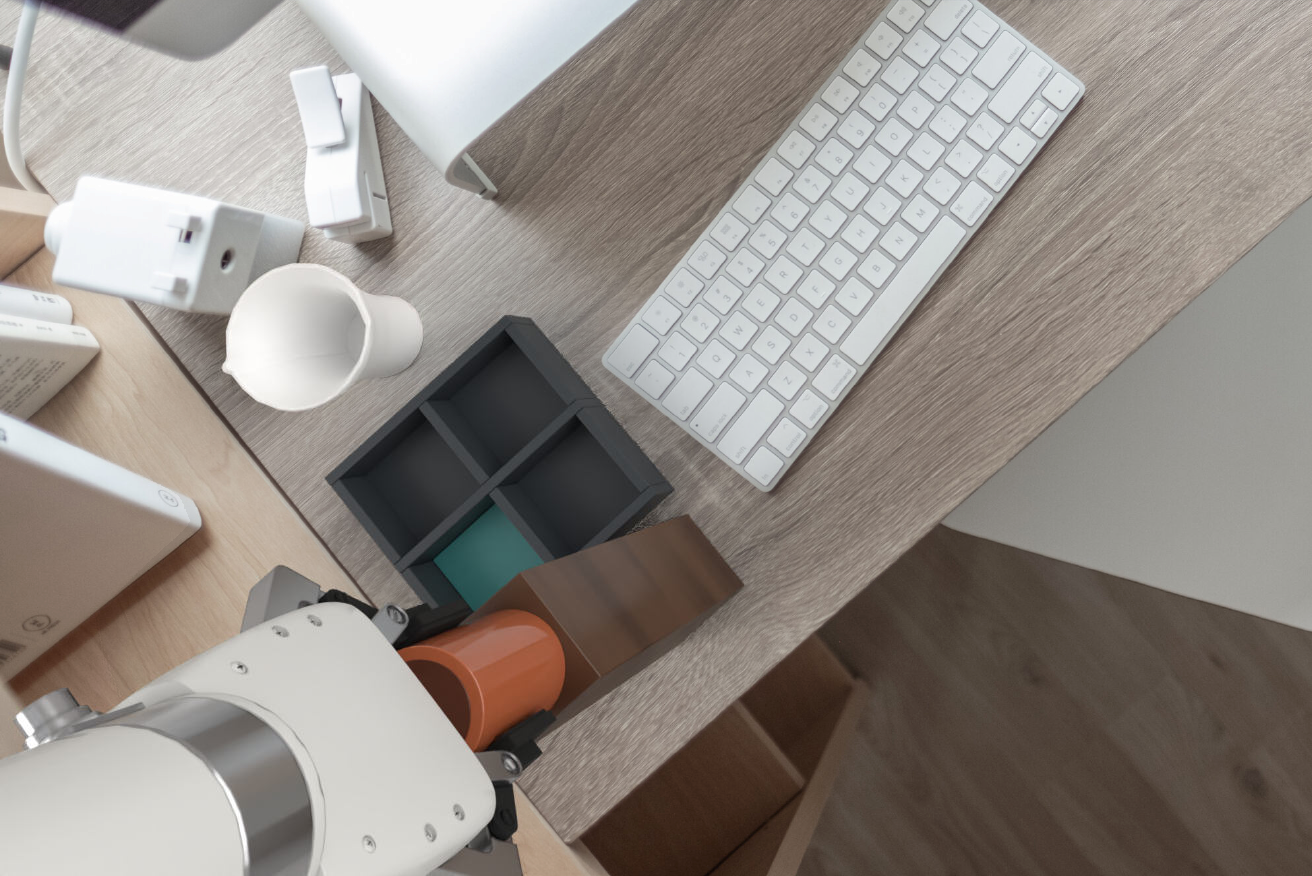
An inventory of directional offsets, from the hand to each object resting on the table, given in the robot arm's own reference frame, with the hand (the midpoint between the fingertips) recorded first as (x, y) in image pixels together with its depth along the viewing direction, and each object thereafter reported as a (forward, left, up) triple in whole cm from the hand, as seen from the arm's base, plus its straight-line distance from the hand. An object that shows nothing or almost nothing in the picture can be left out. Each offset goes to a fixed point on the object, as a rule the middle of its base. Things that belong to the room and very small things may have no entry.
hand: (481, 683), depth 50 cm
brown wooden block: (0, 0, -26) cm, 26 cm away
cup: (+10, +24, -27) cm, 37 cm away
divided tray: (+4, +13, -26) cm, 29 cm away
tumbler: (0, 0, -2) cm, 2 cm away
